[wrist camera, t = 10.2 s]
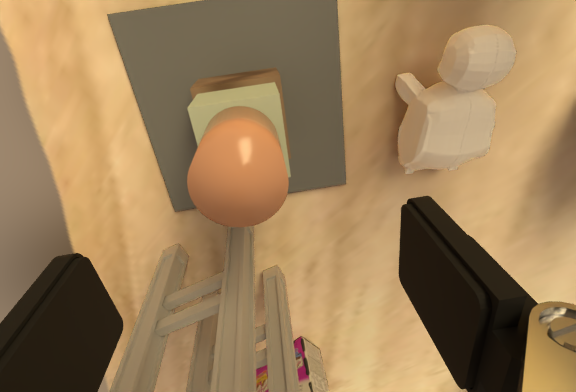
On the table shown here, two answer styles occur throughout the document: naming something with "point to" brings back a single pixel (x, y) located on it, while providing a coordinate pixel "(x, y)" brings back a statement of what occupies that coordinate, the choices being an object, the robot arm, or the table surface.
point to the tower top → (249, 96)
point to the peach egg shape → (238, 169)
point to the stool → (214, 325)
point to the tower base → (243, 81)
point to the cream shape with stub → (454, 101)
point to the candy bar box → (301, 369)
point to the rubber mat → (235, 59)
